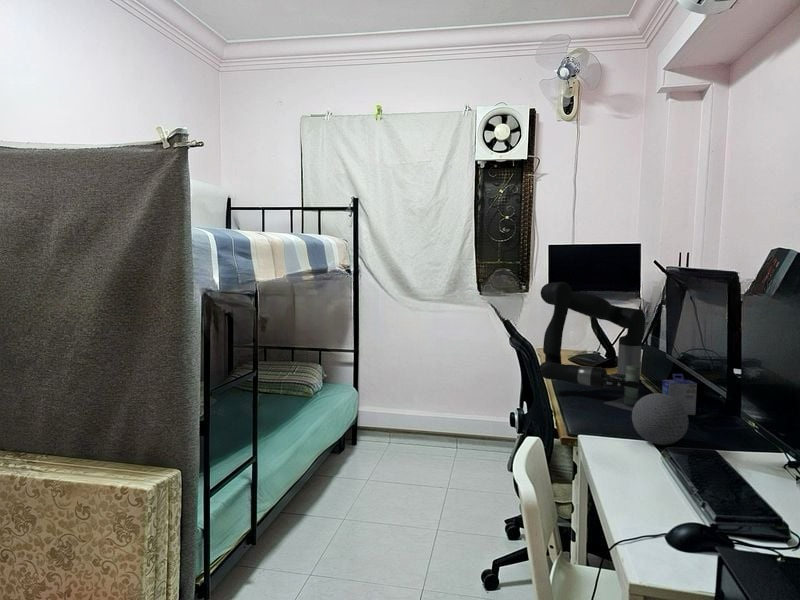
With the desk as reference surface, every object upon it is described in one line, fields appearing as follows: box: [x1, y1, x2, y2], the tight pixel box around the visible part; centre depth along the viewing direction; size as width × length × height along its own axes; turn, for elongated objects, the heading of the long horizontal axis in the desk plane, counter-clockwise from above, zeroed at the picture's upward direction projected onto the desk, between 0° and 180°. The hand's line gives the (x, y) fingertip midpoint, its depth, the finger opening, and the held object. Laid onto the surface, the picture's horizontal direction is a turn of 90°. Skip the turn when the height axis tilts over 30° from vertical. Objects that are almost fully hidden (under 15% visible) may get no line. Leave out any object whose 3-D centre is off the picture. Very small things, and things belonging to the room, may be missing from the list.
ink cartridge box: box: [661, 373, 698, 416], centre depth 176 cm, size 10×6×14 cm, turn 89°
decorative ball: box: [631, 392, 689, 446], centre depth 149 cm, size 15×15×15 cm
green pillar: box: [623, 365, 640, 406], centre depth 184 cm, size 5×5×14 cm
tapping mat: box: [603, 397, 634, 412], centre depth 185 cm, size 14×14×1 cm
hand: (639, 383), depth 183 cm, fingers closed on green pillar, 4 cm apart
